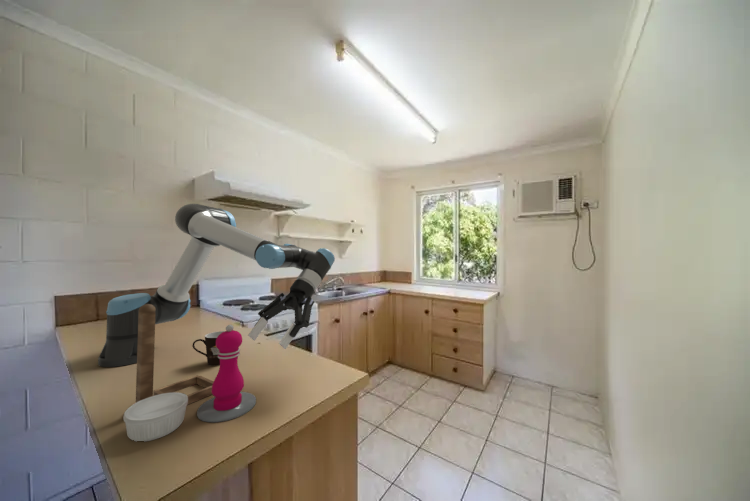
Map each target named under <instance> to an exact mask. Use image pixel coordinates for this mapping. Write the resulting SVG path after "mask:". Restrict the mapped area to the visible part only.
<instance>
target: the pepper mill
mask: <svg viewBox="0 0 750 501" xmlns="http://www.w3.org/2000/svg"><path fill="white" fill-rule="evenodd" d="M224 331H225V332H222V333H221V334H220V335H219V336H218V337H217V339H216V347H217V348H218V349H219V351H218V358H219V359H220V365H219V369H218V372H217V374H216V376H215V377H214V380H213V381H214V382H213V385H212V395H213V397H216V398H215V399H214V406H213V407H214V409H215V410H218V411H226V410H230V409H233V408H235V407H237V406H238V405H239V404H240V403H241V401H242V394H241V393H240V392H243V391H242V390H243V389H244V387H245V380H244V377H243V374H242V372H241V371H240V368H239V366H238V360H239V358H238V357H239V356H240V355H241V353H240V351H241V349H240V347H241V345H242V344H243V336H242V334H241V333H240V332H239V331H238V330H234V325H233V324H227V325H226V326H225V330H224Z"/></svg>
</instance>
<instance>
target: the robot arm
mask: <svg viewBox="0 0 750 501" xmlns="http://www.w3.org/2000/svg"><path fill="white" fill-rule="evenodd" d="M174 221H175V222H174V223H175V224H176V227H177V228H178V230H180V231H181V232H183V233H185V234H187V235H189V236H190V238H191V239H189V241H188V244H187V245H186V247H185V249H184V250H183V252H182V254H181V256H180V258H179V260H178V261H177V263H176V265H175V267H174V268H173V270H172V271H171V274H170V275H169V277H168V279H167V280H166V282H165V284H163V285H161V286H158V288H157V290H156V291H155V292H154V294H153V295H151V294H149V293H147V292H140V293H137V292H136V293H131V294H124V295H121V296H116V297H113V298H112V299H110V300H108V303H107V309H106V311H105V312H106V331H105V332H106V333H105V335H106V338H105V343H104V345H103V347H102V349H101V352H100V354H99V356H98V359H97V360H98V361H97V363H98V366H99V367H101V368H102V367H103V368H108V367H109V368H113V367H122V366H128V365H133V364H137V346H138V316H139V308H140V307H141V306H143V305H145V304H151V305H153V306H154V307H155V309H156V310H155V325H159V324H163V323H169V322H174V321H177V320H179V319H182V318H184V317H186V316H187V314H188V312H189V311H190V309H191V301H192V300H191V299H190V297H191V296H190V293H189V291H190V290H191V288H192V287H193V284H194V283H195V281H196V279H197V278H198V275H199V274H200V272H201V271H202V269H203V267H204V266H205V263H206V262H207V261H208V258H209V257H210V256H211V253H212V252H213V250H214V248H215V247H216V248H217V247H219V246H222V247H224V248H226V249H229V250H231V251H233V252H236V253H238V254H240V255H243V256H245V257H247V258H249V259H252V260H253V261H255V262H256V263H257V264H258V266H260V267H261V268H263V269H269V270H273V269H281V268H285V269H286V268H296V269H298V270H301V272H300V274H299V275H298V276H297V277H296V280H294V281H293V283H292V284H291V286H290V287H289V293H287V295H286V294H284V293H283V292H281V293H280V294H278V296H277V297H276V298H275V299H274V300H272V301H271V302H270V303H269V304H268V305H266V306H264V308H262V309H261V310H259V312H257V315H258V316H259V319H258V320H257V321H256V323H255V324H254V327H252V329H251V331H249V333H248V334H247V336H248V337H249V338H250V339H251V340H252V341H255V340H257V338H258V337H259V335H260V334H261V333H262V331H263V330H264V329H265V327H266V326H267V325H268V323H269V322H268V321H269V320H271V319H272V318H274V317H276V316H277V315H279V314H280V313H282V312H283V311H288V310H289V311H290V310H291V311H294V321H293V322H292V323H291V324H290V326H289V327H288V328H287V330H286V331H285V333H284V334H283V336H282V338H281V339H280V341H279V343H278V344H279V346H280V347H282V348H283V349H284V350H286V349H287V348H288V346H289V345H290V344H291V342H292V340H293V339H294V338H295V337H296V336H297V335H298V333H299V331H300V330H301V329H303V328H306V329H307V328H308V327H309V326H310V320H311V315H312V314H311V313H312V307H313V306H314V304H315V301H314V299H313V298H312V297H313V295H314V293H315V291H317V288H318V287H319V286H320V284H321V283H322V281H323V280H324V278H325V277H326V275H327V274H328V273H329V271H330V270H331V269H332V266H333V265H334V263H335V259H336V258H335V255H334V254H333V252H332V251H331V250H329V249H328V248H325V247H323V248H319V249H318V250H316V251H311V250H309V249H305V248H303V247H300V246H297V245H295V244H290V243H284V244H282V245H281V244H277V243H274V242H272V241H269V239H265V238H263V237H260V236H258V235H256V234H253V233H251V232H248V231H245V230H243V229H241V228H239V227H237V223H236V219H235V217H234V215H233V214H232V213H231V212H230V211H228V210H225V209H222V208H217V207H213V206H209V205H203V204H200V203H188V204H186V205H183V206H181V207H180V208H178V209H177V211H176V213H175V216H174Z"/></svg>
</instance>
